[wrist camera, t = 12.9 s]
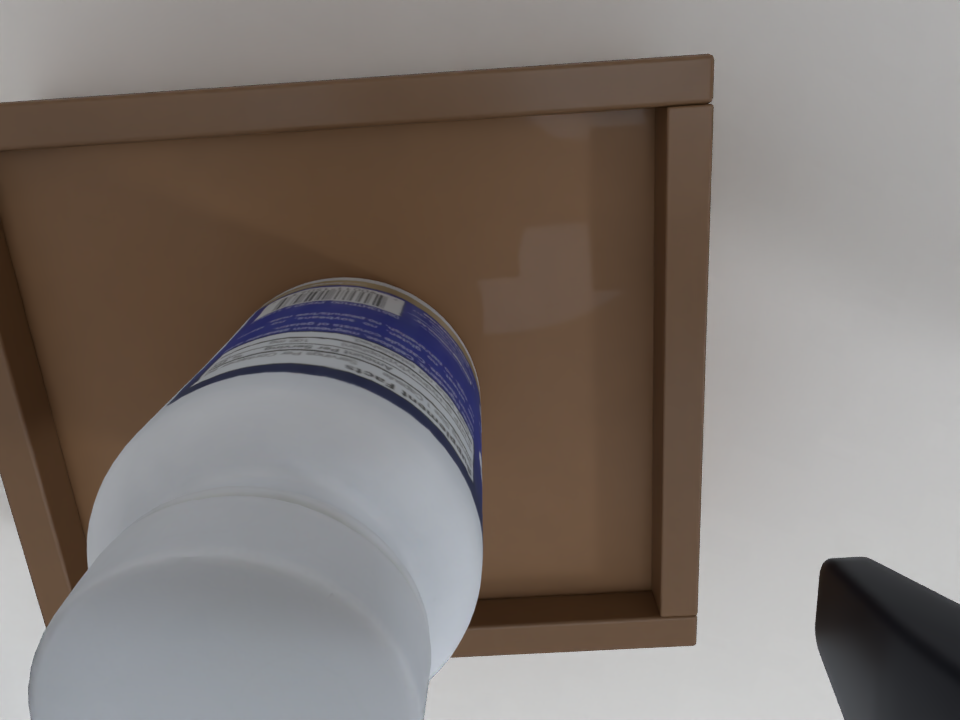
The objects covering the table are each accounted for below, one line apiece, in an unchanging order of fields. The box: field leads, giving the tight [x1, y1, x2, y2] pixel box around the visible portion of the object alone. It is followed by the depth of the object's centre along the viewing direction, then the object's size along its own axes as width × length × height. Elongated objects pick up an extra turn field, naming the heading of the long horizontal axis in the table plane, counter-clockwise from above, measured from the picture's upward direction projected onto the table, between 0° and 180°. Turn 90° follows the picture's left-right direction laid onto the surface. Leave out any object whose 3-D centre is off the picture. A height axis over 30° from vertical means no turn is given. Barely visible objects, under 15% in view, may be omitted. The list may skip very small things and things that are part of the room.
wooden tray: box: [0, 54, 714, 658], centre depth 17 cm, size 14×12×4 cm
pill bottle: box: [28, 277, 483, 720], centre depth 12 cm, size 5×5×9 cm
